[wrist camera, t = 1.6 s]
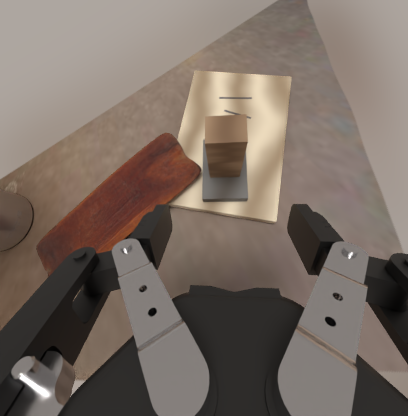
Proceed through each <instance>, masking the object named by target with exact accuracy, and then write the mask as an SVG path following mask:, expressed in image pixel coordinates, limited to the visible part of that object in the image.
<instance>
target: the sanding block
mask: <svg viewBox="0 0 408 416" xmlns="http://www.w3.org/2000/svg"><path fill="white" fill-rule="evenodd" d="M247 144H248V133H247V114H241V115H223V116H205V139H203V182H202V200H203V202H242V201H247V200H248V183H247V162H246V148H247Z"/></svg>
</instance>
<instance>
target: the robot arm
mask: <svg viewBox="0 0 408 416" xmlns="http://www.w3.org/2000/svg"><path fill="white" fill-rule="evenodd" d="M32 217H33V212H32V207H31V204H30V203H29V201H28V200H27V199H26V198H25V197H23V196H21V195H18V194H14V193H11V192H7V191H4V190H1V189H0V251H3V250H7V249H9V248H11V247H13V246H15V245H16V244H17V243H19V242H20V241H21V240H22V239H23V238H24V236H25V235H26V234H27V232H28V230H29V228H30V226H31V222H32ZM287 229H288V234H289V236H290V238H291V240H292V242H293V244H294V246H295V248H296V250H297V252H298V254H299V256H300V258H301V260H302V262H303V264H304V266H305V268H306V270H307V272H308V274H309V275H318V279H317V281H316V284H315V286H314V288H313V291H312V293H311V295H310V298H309V300H308V302H307V304H306V307H305V308H304V307H302V306H301V305H299V304H298V303H296V302H294V301H292V300H290V299H288V298H285V297H282V296H281V295H280V291H279V289H274V288H253V289H248V290H243V291H238V292H231V291H227V290H224V289H220V288H216V287H213V286H195V285H190V291H189V292H188V293H184V294H181V295H179V296H177V297H175V298H173V299H172V300H171V298H170V296H169V294H168V292H167V290H166V288H165V287H164V285H163V283H162V281H161V279H160V277H159V275H158V273H157V271H156V270H158V267H159V265H160V262H161V259H162V257H163V254H164V251H165V248H166V246H167V243H168V240H169V238H170V235H171V232H172V220H171V214H170V209H169V205H168V204H157V205H156V206H155V208H154V209H153V211H152V212H148V213H147V214H145V215H144V216H143V217H142V219H141V220H140V222H139V223H138V226H136V228H135V229H134V231H133V232H132V234H131V235H130V237H129V238H128V239H125V240H122V241H120V242H118V243H117V244H116V245H115V246H114V247H113V249H112V250H111V251H106V252H102V253H96V251H95V249H94V248H92V247H83V248H80V249H77V250H75V251H73V252H72V253H70V254H69V255H68V256H67V257H66V258H65V259H64V260H63V261H62V263H61V264H60V265H59V266H58V267H57V268H56V269H55V270H54V272H53V273H52V274H51V275H50V276H49V277H48V278H47V279H46V281H45V282H44V283H43V284H42V285H41V286H40V287H39V288H38V290H37V291H36V292H35V293H34V294H33V295H32V296H31V297H30V299H29V300H28V301H27V302H26V303H25V304H24V305H23V306H22V307H21V309H20V310H19V311H18V312H17V313H16V314H15V315H14V316H13V318H12V319H11V320H10V321H9V322H8V323H7V324H6V325H5V327H4V328H3V329H2V330H1V331H0V416H408V399H407V398H406V397H405V396H404V395H403V394H402V393H400V392H399V391H398V390H397V389H396V388H395V387H393V385H392V384H390V383H389V382H388V381H387V380H386V379H385V378H383V377H382V376H381V375H380V374H379V373H378V372H377V371H376V370H375V369H373V368H372V367H371V366H370V365H369V364H368V363H367V362H366V361H364V360H363V359H362V358H361V357H360V356H359V355H358V354H357V350H358V344H359V338H360V331H361V325H362V319H363V313H364V307H365V302H368V304H369V305H370V307H371V308H372V310H373V311H374V313H375V314H376V316H377V318H378V319H379V321H380V322H381V324H382V325H383V327H384V328H385V330H386V331H387V333H388V335H389V336H390V338H391V339H392V341H393V342H394V344H395V345H396V347H397V348H398V350H399V352H400V353H401V355H402V356H403V358H404V359H405V361H406V362H407V364H408V254H403V253H396V254H393V255H392V256H391V257H390V259H389V260H383V259H379V258H374V257H370V256H368V254H367V253H366V251H364V250H363V249H362V248H361V247H359V246H357V245H355V244H352V243H349V242H345V241H344V240H343V239H342V238H341V237H340V236H339V234H338V233H337V232H336V231H335V230H334V229H333V228H332V226H331V225H330V224H329V223H328V222H327V220H326V219H325V218H324V217H323V216H322V215H320V214H318V213H317V212H313V211H312V210H311V209H310V207H309V206H308V205H307V204H293V205H292V207H291V212H290V216H289V220H288V226H287ZM80 289H81V291H80V292H79V294H78V295H77V297H76V298H75V300H74V301H73V299H74V297H75V296H76V294H77V293H78V291H79V290H80ZM117 289H121V291H122V295H123V298H124V302H125V306H126V309H127V313H128V316H129V320H130V323H131V327H132V331H133V334H134V335H133V336H132V337H131V338H130V339H129V340H128V341H127V342H126V343H125V344H124V345H123V346H122V347H121V348H120V349H119V350H118V351H116V352H115V353H114V354H113V355H112V356H111V357H110V358H109V359H108V360H107V361H106V362H105V363H104V364H103V365H102V366H101V367H100V368H99V369H98V370H97V371H96V372H95V373H94V374H93V375H91V376H90V377H89V378H88V379H87V380H86V381H85V382H84V383H83V384H82V385H81V386H80V387H79V388H78V389H77V390H76V391H75V393H74V394H72V396H71V393H72V387H73V384H74V381H75V370H74V368H73V365H74V363H75V361H76V359H77V357H78V355H79V353H80V351H81V349H82V347H83V345H84V343H85V341H86V339H87V337H88V335H89V333H90V331H91V329H92V327H93V325H94V323H95V321H96V319H97V317H98V315H99V313H100V311H101V309H102V308H103V306H104V304H105V302H106V300H107V298H108V296H109V294H110V292H111V291H114V290H117ZM70 396H71V397H70Z"/></svg>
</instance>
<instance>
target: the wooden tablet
mask: <svg viewBox="0 0 408 416" xmlns="http://www.w3.org/2000/svg"><path fill="white" fill-rule="evenodd" d="M201 170H202V169H201V167H200V166H199V165H198V164H197V163H195V162H194V161H193V160H191V159H189V158H188V157H187V156H186V155H185V154H184V151H183V149H182V147H181V145H180V143H179V142H178V141H177V139H176V138H175V137H174V136H173V135H172V134H170V133H164V134H162V135H160V136H159V137H157V138H156V139H155V140H153V141H152V142H150V143H149V144H148V145H147V146H145V147H144V148H143V149H142V150H140V151H139V152H138V153H137V154H135V155H134V156H133V157H132V158H131V159H129V160H128V161H127V162H126V163H125V164H123V165H122V166H121V167H120V168H119V169H117V170H116V171H115V172H114V173H113V174H112V175H111V176H109V177H108V178H107V179H106V180H105V181H104V182H103V183H102V184H101V185H99V186H98V187H97V188H96V189H95V190H94V191H93V192H92V193H91V194H90V195H88V196H87V197H86V198H85V199H84V200H83V201H82V202H81V203H80V204H79V205H78V206H77V207H75V208H74V209H73V210H72V211H71V212H70V213H69V214H68V215H67V216H66V217H64V218H63V219H62V220H61V221H60V222H59V223H58V225H57V226H55V227H54V228H53V229H52V230H50V231H49V232H48V233H47V234H46V235H45V236H44V238H43V239H42V240H41V241H40V242H39V244H38V245H37V252H38V255H39V257H40V259H41V261H42V264H43V266H44V268H45V270H46V271H48V275H49V276H50V275H51V274H52V273H53V272H54V270H55V269H56V268H57V267H58V266H59V265H60V264H61V263H62V261H63V260H64V259H65V258H66V257H67V256H68V255H69V254H70V253H72V252H73V251H75V250H77V249H80V248H83V247H92V248H94V249H95V251H96V253H102V252H106V251H111V250H112V249H113V247H114V246H115V245H116V244H117V243H118V242H120V241H122V240H123V239H125V238H126V237H127V236H128V235H129V234H131V233H132V232H133V231H134V229H135V228H136V226H138V223H139V222H140V220H141V219H142V217H143V216H144V215H145V214H147V213H148V212H152V211H153V209H154V208H155V206H156V205H157V204H167V203H168V202H169V201H171V200H172V199H173V198H174V197H176V196H177V195H179V194H180V193H181V192H182V191H183V190H184V189H186V188H187V187H188V186H189V185H190V184H191V183H192V182H193V181H194V180H195V179H196V178H197V177H198V176H199V174H200V173H201Z"/></svg>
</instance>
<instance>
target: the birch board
mask: <svg viewBox="0 0 408 416" xmlns="http://www.w3.org/2000/svg"><path fill="white" fill-rule="evenodd" d="M290 87H291V77H286V76H271V75H255V74H240V73H224V72H209V71H195V73H194V77H193V81H192V85H191V89H190V93H189V96H188V100H187V104H186V108H185V112H184V116H183V120H182V124H181V128H180V132H179V136H178V140H177V141H178V142H179V143H180V145H181V147H182V149H183V151H184V154H185V155H186V156H187V157H188V158H189V159H191V160H193V161H194V162H195V163H197V164H198V165H199V166H200V167H201V169H202V170H201V173H200V174H199V176H198V177H197V178H196V179H195V180H194V181H193V182H192V183H191V184H190V185H189V186H188V187H187V188H186V189H184V190H183V191H182V192H181V193H180V194H179V195H177V196H176V197H174V198H173V199H172V200H171V201H169V202H168V203H167V204H168V205H169V206H172V207H178V208H184V209H190V210H195V211H201V212H207V213H213V214H219V215H225V216H231V217H237V218H243V219H249V220H255V221H261V222H267V223H272V224H274V223H275V222H276V221H277V212H278V202H279V192H280V183H281V173H282V164H283V154H284V144H285V135H286V125H287V115H288V106H289V96H290ZM241 114H247V133H248V144H247V148H246V162H247V183H248V200H247V201H242V202H203V200H202V182H203V139H205V116H223V115H241Z"/></svg>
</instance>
